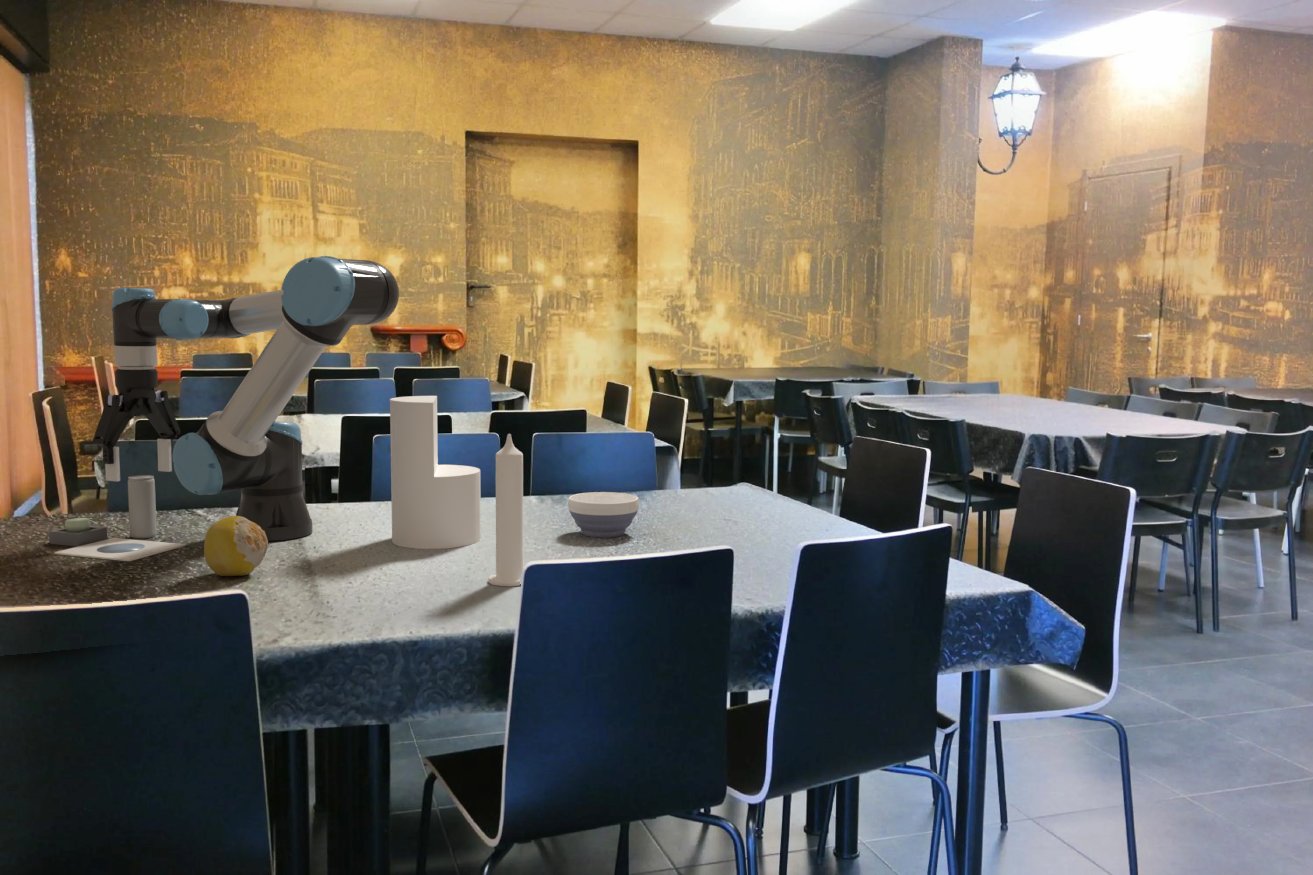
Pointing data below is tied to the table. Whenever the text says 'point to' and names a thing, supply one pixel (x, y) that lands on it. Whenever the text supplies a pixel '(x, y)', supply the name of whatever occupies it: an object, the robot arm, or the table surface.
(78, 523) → the button
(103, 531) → the button housing
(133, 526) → the beverage can
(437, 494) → the white notched round column
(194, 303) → the robot arm
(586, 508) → the bowl
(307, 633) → the table surface
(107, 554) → the paper sheet
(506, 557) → the candle
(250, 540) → the fruit
